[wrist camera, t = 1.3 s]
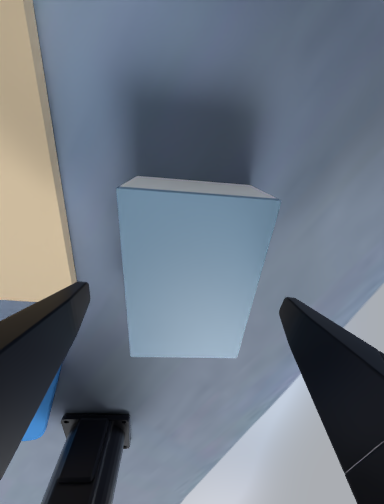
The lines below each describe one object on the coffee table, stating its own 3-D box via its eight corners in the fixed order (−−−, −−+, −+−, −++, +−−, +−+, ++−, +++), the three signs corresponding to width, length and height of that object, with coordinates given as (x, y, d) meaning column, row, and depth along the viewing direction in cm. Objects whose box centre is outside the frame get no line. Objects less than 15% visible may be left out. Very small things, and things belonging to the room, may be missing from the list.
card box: (223, 308, 15) (236, 358, 11) (142, 306, 15) (130, 356, 11) (249, 184, 11) (281, 201, 7) (138, 175, 10) (116, 188, 7)
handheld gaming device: (-52, 436, 20) (-71, 337, 14) (-41, 422, 21) (-54, 324, 15) (39, 447, 21) (58, 363, 15) (45, 434, 22) (66, 350, 16)
